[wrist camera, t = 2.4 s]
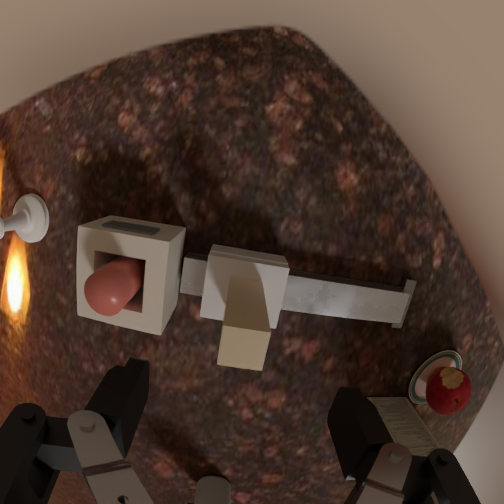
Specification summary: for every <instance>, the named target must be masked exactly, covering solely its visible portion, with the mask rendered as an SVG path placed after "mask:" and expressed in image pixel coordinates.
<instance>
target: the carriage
mask: <svg viewBox="0 0 504 504" xmlns="http://www.w3.org/2000/svg"><path fill="white" fill-rule="evenodd" d="M289 270H290V268H289V266H288V262H287V260H286V258H285V256H280V255H275V254H269V253H263V252H257V251H251V250H246V249H240V248H234V247H228V246H222V245H216V244H213V245H212V248H211V250H210V253H209V255H208V262H207V269H206V275H205V282H204V289H203V297H202V304H201V312H200V317H205V318H211V319H217V320H223V324H222V331H221V338H220V346H219V353H218V360H217V364H218V365H224V366H231V367H237V368H244V369H252V370H260V371H262V368H263V363H264V359H265V355H266V351H267V347H268V343H269V339H270V335H271V330H270V328H275V329H276V326H277V322H278V318H279V313H280V309H281V305H282V301H283V296H284V292H285V287H286V283H287V279H288V274H289Z"/></svg>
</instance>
